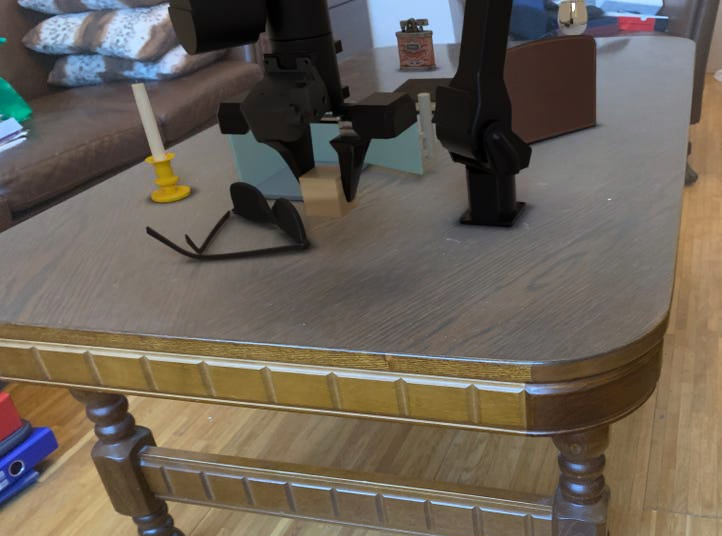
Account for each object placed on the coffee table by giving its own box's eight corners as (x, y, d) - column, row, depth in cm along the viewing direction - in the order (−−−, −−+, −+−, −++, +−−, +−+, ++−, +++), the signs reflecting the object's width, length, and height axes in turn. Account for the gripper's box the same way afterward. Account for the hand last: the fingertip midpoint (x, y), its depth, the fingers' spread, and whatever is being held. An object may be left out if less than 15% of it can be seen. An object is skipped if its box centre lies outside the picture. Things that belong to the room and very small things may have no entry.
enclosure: (321, 201, 99) (308, 136, 95) (243, 197, 103) (226, 133, 98) (368, 165, 110) (358, 105, 106) (296, 162, 114) (283, 104, 109)
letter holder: (597, 125, 118) (598, 28, 111) (492, 156, 110) (485, 52, 102) (557, 113, 125) (555, 21, 118) (455, 141, 117) (446, 43, 109)
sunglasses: (138, 250, 90) (124, 210, 87) (246, 212, 98) (236, 174, 95) (205, 291, 79) (192, 248, 77) (320, 244, 88) (311, 203, 85)
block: (341, 218, 75) (334, 179, 73) (306, 216, 76) (298, 177, 74) (359, 203, 78) (353, 165, 76) (325, 201, 80) (318, 164, 77)
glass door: (443, 164, 105) (436, 93, 100) (421, 174, 102) (412, 102, 97) (384, 152, 111) (374, 85, 106) (361, 162, 109) (350, 93, 104)
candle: (151, 193, 107) (114, 78, 99) (190, 186, 108) (156, 72, 100) (152, 205, 103) (113, 86, 94) (192, 197, 104) (157, 79, 96)
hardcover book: (512, 112, 128) (511, 98, 127) (383, 113, 133) (381, 100, 132) (528, 88, 141) (528, 75, 140) (410, 90, 146) (409, 77, 145)
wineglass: (553, 66, 154) (551, 2, 148) (577, 62, 156) (577, -2, 150) (567, 71, 150) (567, 5, 143) (592, 66, 152) (593, 1, 145)
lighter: (397, 71, 161) (391, 20, 156) (403, 67, 164) (397, 17, 159) (433, 71, 159) (427, 19, 154) (438, 67, 162) (433, 16, 156)
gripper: (157, 55, 65) (206, 225, 73) (352, 53, 59) (381, 239, 68) (232, 29, 74) (268, 184, 82) (409, 26, 68) (428, 193, 76)
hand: (331, 199), depth 77 cm, fingers closed on block, 4 cm apart
